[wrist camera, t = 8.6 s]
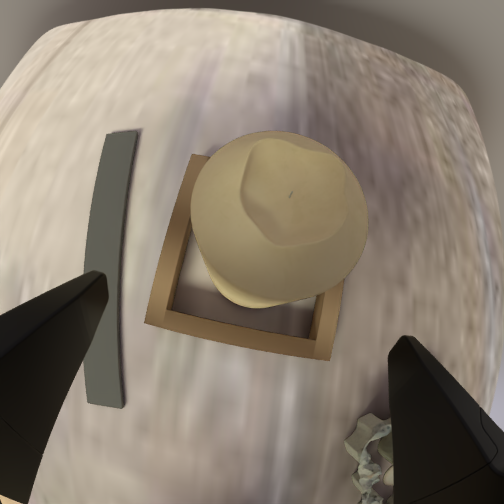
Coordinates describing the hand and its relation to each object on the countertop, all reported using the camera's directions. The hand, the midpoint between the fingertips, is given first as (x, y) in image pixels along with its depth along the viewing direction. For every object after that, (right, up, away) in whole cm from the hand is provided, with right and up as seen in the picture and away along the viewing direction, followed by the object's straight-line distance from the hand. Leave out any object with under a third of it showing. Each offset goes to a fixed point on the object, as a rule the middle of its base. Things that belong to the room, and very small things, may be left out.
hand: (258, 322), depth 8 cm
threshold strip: (-9, +1, +8) cm, 12 cm away
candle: (0, +1, +9) cm, 9 cm away
